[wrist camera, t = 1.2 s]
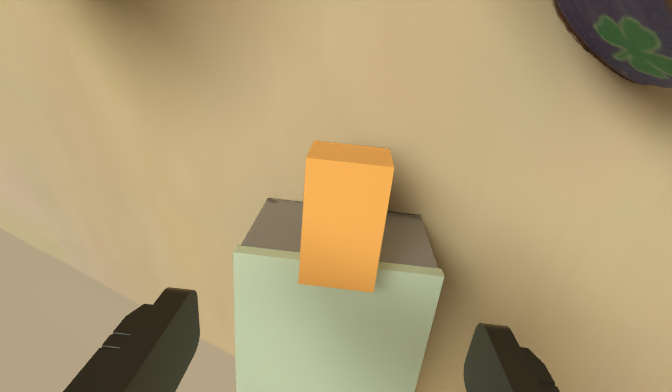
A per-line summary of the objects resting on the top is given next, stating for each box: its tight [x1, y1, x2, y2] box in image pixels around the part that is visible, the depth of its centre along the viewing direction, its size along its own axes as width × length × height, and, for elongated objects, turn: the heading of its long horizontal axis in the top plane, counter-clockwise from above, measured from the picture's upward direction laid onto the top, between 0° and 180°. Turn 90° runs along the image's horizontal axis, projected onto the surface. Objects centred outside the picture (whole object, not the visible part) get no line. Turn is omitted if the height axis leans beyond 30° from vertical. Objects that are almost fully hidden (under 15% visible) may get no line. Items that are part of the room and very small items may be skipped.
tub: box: [241, 198, 438, 268], centre depth 29 cm, size 12×16×7 cm
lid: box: [233, 141, 444, 392], centre depth 23 cm, size 12×23×4 cm, turn 175°
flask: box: [553, 0, 672, 88], centre depth 18 cm, size 9×3×11 cm, turn 52°
